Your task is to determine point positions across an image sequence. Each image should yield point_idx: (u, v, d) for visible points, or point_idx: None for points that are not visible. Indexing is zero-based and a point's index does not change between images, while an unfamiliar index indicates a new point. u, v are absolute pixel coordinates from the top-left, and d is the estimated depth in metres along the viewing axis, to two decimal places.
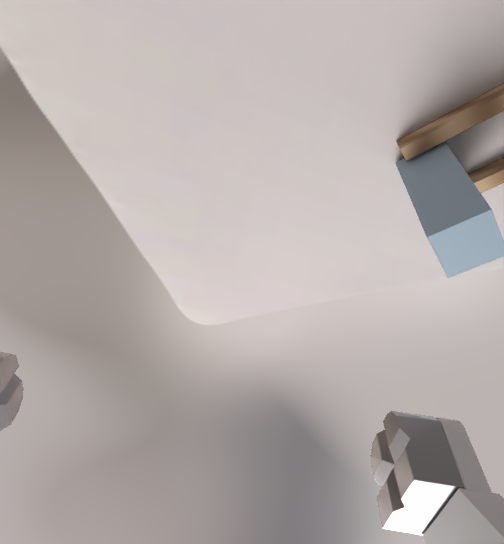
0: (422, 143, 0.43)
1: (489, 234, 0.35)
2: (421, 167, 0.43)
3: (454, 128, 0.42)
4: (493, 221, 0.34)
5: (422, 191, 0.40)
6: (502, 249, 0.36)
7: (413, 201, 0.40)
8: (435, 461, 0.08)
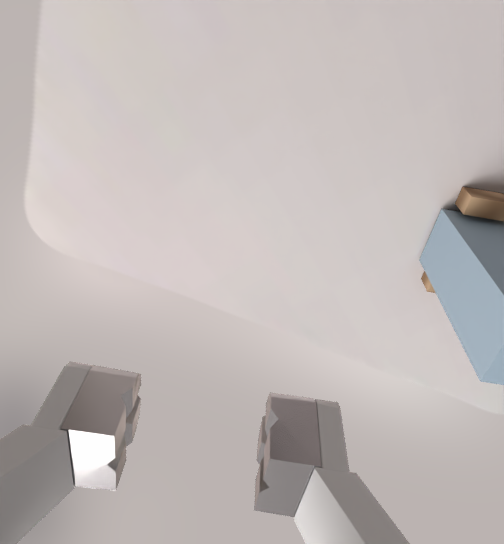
0: (494, 208, 0.33)
1: None
2: (481, 232, 0.33)
3: None
4: None
5: (493, 259, 0.29)
6: None
7: (483, 263, 0.28)
8: (297, 441, 0.08)
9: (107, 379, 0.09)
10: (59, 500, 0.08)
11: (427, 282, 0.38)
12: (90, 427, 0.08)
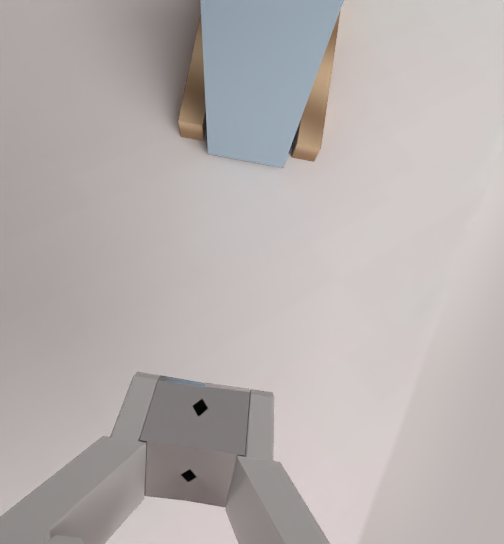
0: (194, 93, 0.27)
1: None
2: None
3: None
4: None
5: None
6: None
7: (204, 72, 0.20)
8: (224, 430, 0.08)
9: (176, 390, 0.09)
10: (132, 510, 0.08)
11: (310, 150, 0.28)
12: (167, 438, 0.08)
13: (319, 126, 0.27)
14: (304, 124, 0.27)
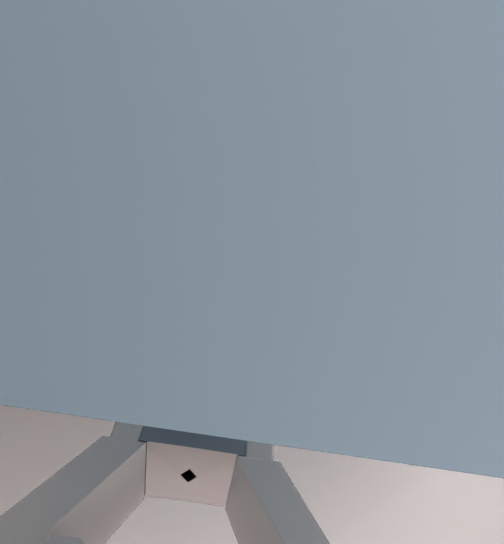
0: None
1: None
2: None
3: None
4: None
5: None
6: None
7: None
8: None
9: None
10: (131, 510, 0.08)
11: None
12: (167, 438, 0.08)
13: None
14: None
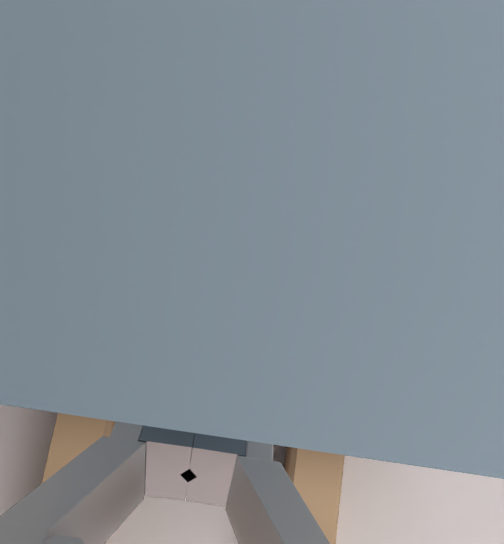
0: None
1: None
2: None
3: None
4: None
5: None
6: None
7: None
8: None
9: None
10: (131, 510, 0.08)
11: None
12: (167, 439, 0.08)
13: None
14: None
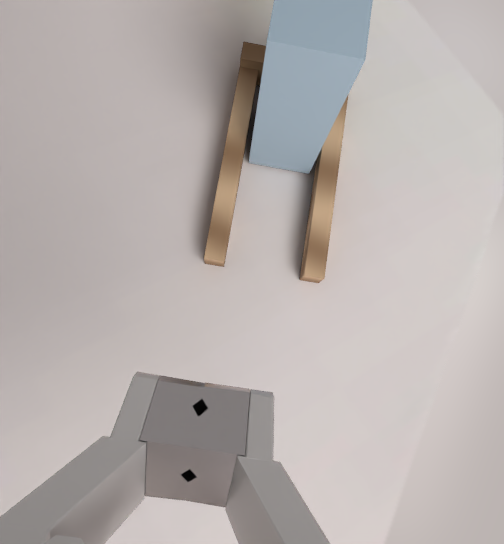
0: (217, 232, 0.32)
1: None
2: None
3: (226, 194, 0.33)
4: None
5: None
6: None
7: None
8: (224, 430, 0.08)
9: (176, 390, 0.09)
10: (132, 510, 0.08)
11: (315, 278, 0.33)
12: (167, 439, 0.08)
13: (323, 259, 0.32)
14: (310, 258, 0.32)
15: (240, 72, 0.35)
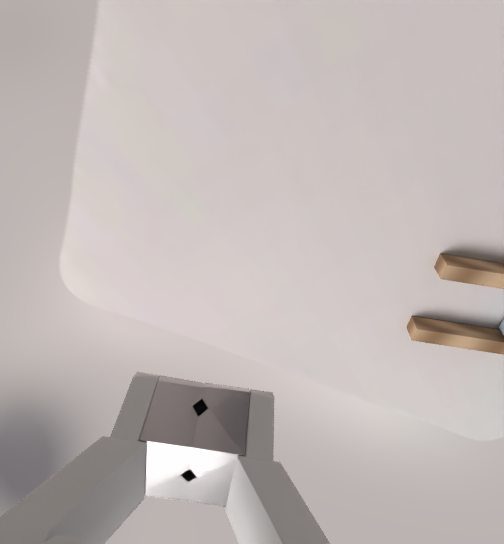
0: (466, 274, 0.39)
1: None
2: None
3: (499, 281, 0.39)
4: None
5: None
6: None
7: None
8: (224, 430, 0.08)
9: (177, 390, 0.09)
10: (132, 510, 0.08)
11: (412, 332, 0.44)
12: (168, 439, 0.08)
13: (426, 340, 0.43)
14: (429, 332, 0.43)
15: None
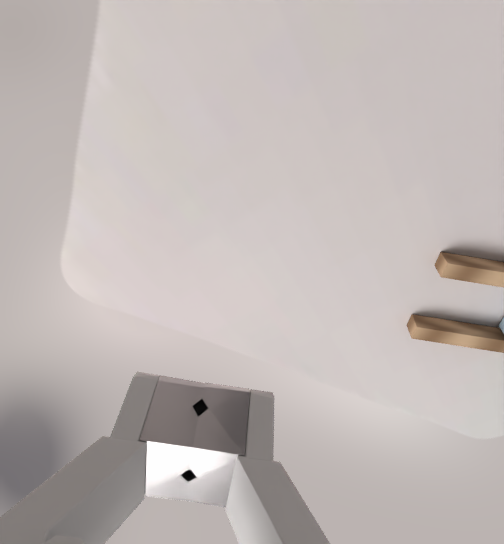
0: (467, 272, 0.39)
1: None
2: None
3: (499, 279, 0.39)
4: None
5: None
6: None
7: None
8: (224, 430, 0.08)
9: (176, 390, 0.09)
10: (132, 510, 0.08)
11: (412, 330, 0.44)
12: (168, 439, 0.08)
13: (426, 338, 0.43)
14: (429, 331, 0.43)
15: None
